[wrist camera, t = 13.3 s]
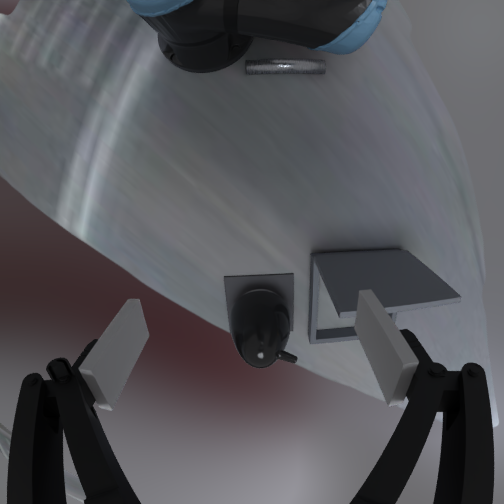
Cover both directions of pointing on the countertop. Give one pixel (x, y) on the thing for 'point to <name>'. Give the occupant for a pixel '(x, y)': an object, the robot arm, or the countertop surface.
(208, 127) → the countertop surface
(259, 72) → the rod
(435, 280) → the case
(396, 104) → the countertop surface
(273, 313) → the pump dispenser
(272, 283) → the pad
